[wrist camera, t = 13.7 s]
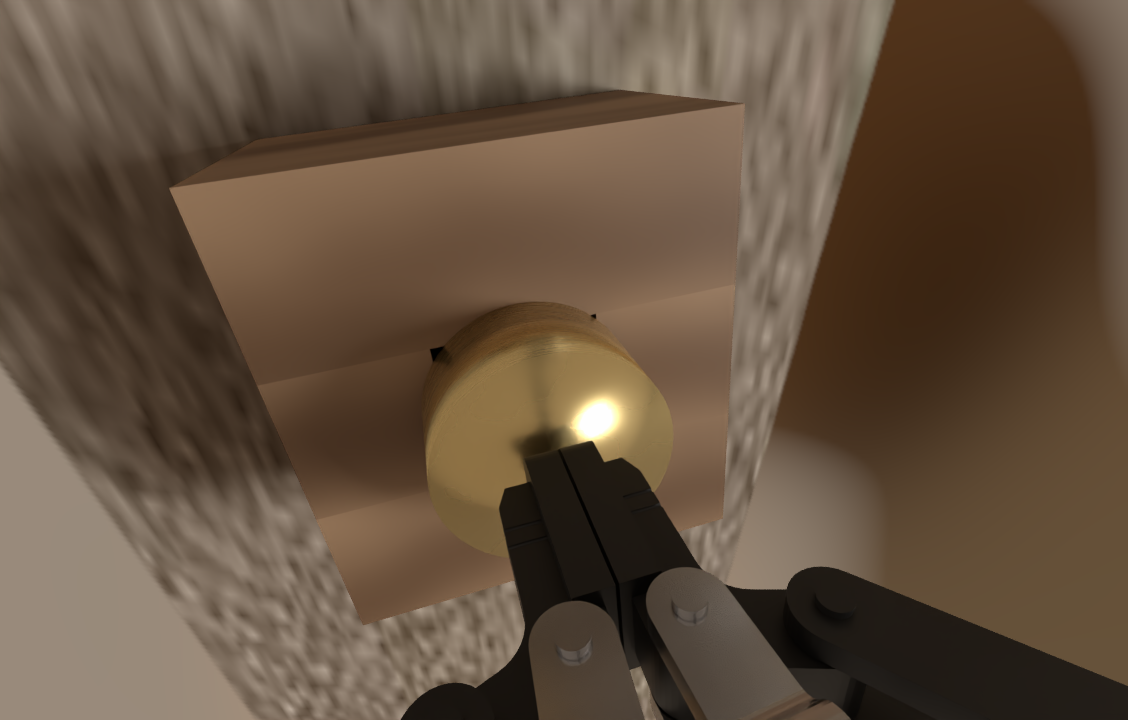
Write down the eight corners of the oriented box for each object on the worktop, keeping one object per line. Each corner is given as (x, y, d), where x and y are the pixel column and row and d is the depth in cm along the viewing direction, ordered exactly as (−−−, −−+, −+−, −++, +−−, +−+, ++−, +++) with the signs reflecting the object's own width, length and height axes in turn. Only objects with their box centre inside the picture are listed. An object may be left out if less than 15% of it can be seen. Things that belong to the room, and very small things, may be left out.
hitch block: (257, 139, 17) (168, 188, 10) (620, 89, 19) (744, 103, 13) (371, 463, 24) (363, 625, 17) (635, 398, 26) (722, 518, 19)
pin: (394, 244, 19) (398, 388, 10) (554, 216, 20) (672, 326, 11) (431, 383, 22) (456, 585, 13) (569, 353, 23) (674, 522, 14)
